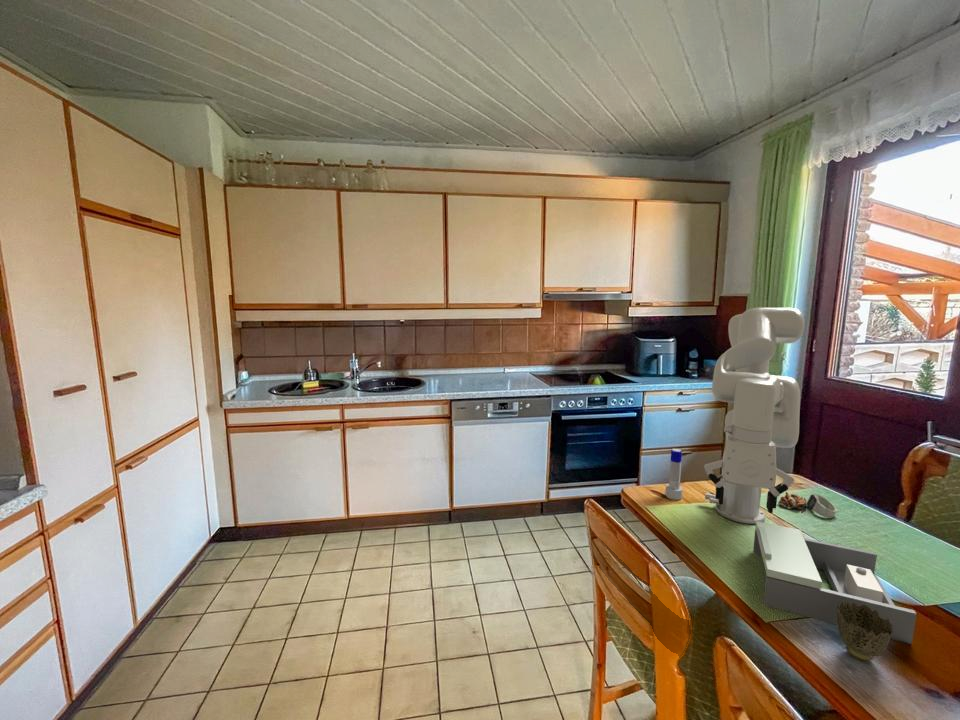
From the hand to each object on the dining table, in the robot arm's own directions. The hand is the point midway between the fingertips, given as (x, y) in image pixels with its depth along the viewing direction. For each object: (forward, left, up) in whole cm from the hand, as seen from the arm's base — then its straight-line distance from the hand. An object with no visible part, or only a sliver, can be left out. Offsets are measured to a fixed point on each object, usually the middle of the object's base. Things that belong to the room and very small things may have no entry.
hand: (744, 506), depth 98 cm
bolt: (-16, +34, -16) cm, 41 cm away
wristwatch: (+24, +43, -17) cm, 52 cm away
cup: (+17, -18, -16) cm, 30 cm away
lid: (+8, 0, -10) cm, 13 cm away
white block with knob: (+22, 0, -16) cm, 27 cm away
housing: (+15, 0, -16) cm, 22 cm away
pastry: (+18, +46, -17) cm, 52 cm away
